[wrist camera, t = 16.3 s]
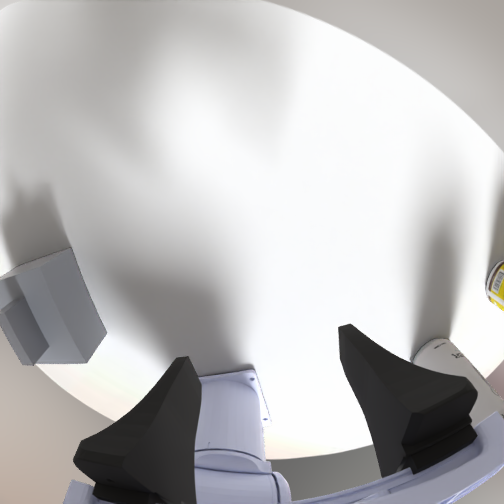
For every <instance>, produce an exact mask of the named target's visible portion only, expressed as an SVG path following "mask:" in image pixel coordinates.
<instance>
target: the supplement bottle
mask: <svg viewBox="0 0 504 504" xmlns="http://www.w3.org/2000/svg"><path fill="white" fill-rule="evenodd" d="M486 294H487V298H488V299H489V301H490V302H492V303H493V304H495V305H496V306H497V307H499V308H500V309H501V310H503V311H504V260H503V261H500V262H499V263H498V264H496V266H495V267H494V268H493V270H492V271H491V273H490V276H489V278H488V281H487V286H486Z"/></svg>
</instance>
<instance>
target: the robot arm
mask: <svg viewBox="0 0 504 504" xmlns="http://www.w3.org/2000/svg"><path fill="white" fill-rule="evenodd" d="M338 332H339V350H340V360H341V363H342V366H343V369H344V372H345V375H346V377H347V379H348V381H349V384H350V386H351V388H352V390H353V392H354V394H355V396H356V398H357V400H358V402H359V404H360V406H361V408H362V411H363V413H364V415H365V418H366V421H367V424H368V427H369V431H370V434H371V437H372V441H373V444H374V447H375V451H376V455H377V459H378V463H379V467H380V471H381V476H382V479H379V480H376V481H373V482H370V483H368V484H364V485H361V486H358V487H355V488H351V489H348V490H344V491H340V492H337V493H333V494H328V495H324V496H320V497H315V498H310V499H305V500H299V501H294V502H291V493H290V489H289V485H288V483H287V481H286V480H285V479H284V478H283V476H282V475H281V474H280V473H278V472H272V470H271V462H267V461H266V457H265V444H264V432H263V427H264V426H269V425H271V419H270V416H269V413H268V409H267V406H266V403H265V400H264V397H263V394H262V391H261V387H260V384H259V381H258V378H257V375H256V372H255V371H254V370H245V371H239V372H233V373H226V374H219V375H212V376H204V377H198V376H197V374H196V372H195V370H194V367H193V365H192V363H191V361H190V359H189V357H188V356H187V357H178V358H176V359H175V361H174V362H173V363H172V364H171V366H170V367H169V368H168V369H167V371H166V372H165V373H164V375H163V376H162V377H161V378H160V380H159V381H158V382H157V383H156V385H155V386H154V387H153V388H152V389H151V390H150V391H149V393H148V394H147V395H146V396H145V397H144V398H143V399H142V400H141V401H140V402H139V403H138V404H137V405H136V406H135V407H134V408H133V409H132V410H131V411H129V412H128V413H127V414H126V415H124V416H123V417H122V418H120V419H119V420H118V421H116V422H115V423H114V424H112V425H110V426H109V427H107V428H106V429H104V430H102V431H100V432H99V433H97V434H95V435H93V436H90V437H88V438H86V439H84V440H82V441H81V442H80V444H79V447H78V449H77V451H76V454H75V456H74V458H73V462H74V464H75V465H76V467H77V468H79V470H81V471H82V472H83V473H84V474H85V475H87V476H88V477H89V478H91V479H92V480H93V481H95V482H96V484H95V487H93V486H91V485H89V484H86V483H82V482H79V481H76V480H71V482H70V485H69V488H68V491H67V493H66V496H65V499H64V502H63V504H452V503H454V502H455V501H457V500H459V499H460V498H462V497H463V496H465V495H466V494H468V493H469V492H471V491H472V490H474V489H475V488H477V487H478V486H480V485H481V484H482V483H484V482H485V481H487V480H488V479H489V478H491V477H492V476H493V475H494V474H496V473H497V472H498V471H499V470H500V469H501V468H502V467H503V466H504V419H503V418H502V417H501V415H500V414H499V413H498V411H495V412H494V413H493V414H491V415H490V416H488V417H487V418H486V419H484V420H483V421H481V422H480V423H478V424H477V425H476V426H475V427H474V428H473V427H472V425H471V423H472V419H471V417H470V416H469V414H470V412H471V410H472V408H473V406H474V404H475V403H476V400H477V397H478V391H477V390H476V388H475V387H474V386H473V384H472V383H471V382H470V381H469V380H468V379H467V377H464V376H457V375H450V374H444V373H440V372H436V371H432V370H429V369H426V368H423V367H420V366H417V365H415V364H412V363H410V362H408V361H406V360H404V359H402V358H399V357H398V356H396V355H394V354H392V353H391V352H389V351H387V350H386V349H384V348H383V347H381V346H380V345H378V344H377V343H375V342H374V341H372V340H371V339H370V338H368V337H367V336H366V335H364V334H363V333H362V332H361V331H359V330H358V329H357V328H356V327H354V326H353V325H352V324H347V325H344V326H340V327H338ZM251 377H253V378H251Z"/></svg>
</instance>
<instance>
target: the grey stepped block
mask: <svg viewBox="0 0 504 504" xmlns="http://www.w3.org/2000/svg"><path fill="white" fill-rule="evenodd" d="M0 326H1V328H2V330H3V332H4V334H5V335H6V337H7V339H8V341H9V343H10V345H11V346H12V348H13V350H14V352H15V353H16V355H17V356H18V358H19V360H20V362H21V363H22V365H32V366H34V364H83V363H87V362H88V361H89V359H90V358H91V356H92V355H93V353H94V352H95V350H96V349H97V347H98V346H99V344H100V343H101V341H102V340H103V339H104V337H105V336H106V334H107V332H106V330H105V328H104V326H103V324H102V322H101V319H100V317H99V315H98V313H97V311H96V309H95V306H94V304H93V302H92V300H91V297H90V295H89V293H88V290H87V288H86V285H85V283H84V280H83V278H82V275H81V273H80V270H79V268H78V265H77V262H76V259H75V257H74V254H73V251H72V248H68V249H65V250H62V251H59V252H56V253H53V254H50V255H48V256H45V257H42V258H39V259H36V260H33V261H31V262H28V263H25V264H22V265H20V266H17V267H16V268H14V269H12V270H11V271H9V272H7V273H6V274H4V275H3V276H1V277H0Z"/></svg>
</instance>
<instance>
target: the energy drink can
mask: <svg viewBox="0 0 504 504" xmlns="http://www.w3.org/2000/svg"><path fill="white" fill-rule="evenodd" d="M413 364H415V365H417V366H420V367H423V368H426V369H429V370H432V371H436V372H440V373H444V374H450V375H457V376H464V377H467V379H468V380H469V381H470V382H471V383H472V384H473V386H474V387H475V388H476V390H477V391H478V397H477V400H476V403H475V404H474V406H473V408H472V410H471V412H470V414H469V416H470V417H471V419H472V423H471V425H472V427H473V428H474V427H475V426H476V425H477V424H478V423H480V422H481V421H483V420H484V419H486V418H487V417H488V416H490V415H491V414H493V413H494V412H495V411H498V413H499V414H500V415H501V417H502V418H503V419H504V400H503V399H502V398H501V397H500V396H499V394H498V393H497V392H496V391H495V390H494V388H493V387H492V386H491V385H490V384H489V383H488V381H487V380H486V379H485V378H484V377H483V376H482V375H481V373H480V372H479V371H478V370H477V369H476V368H475V367H474V366H473V365H472V363H471V362H470V361H469V360H468V359H467V358H466V357H465V356H464V355H463V354H462V353H461V352H460V351H459V350H458V348H457V347H456V346H455V345H454V344H453V343H452V342H451V341H450V340H448V339H440V338H436V339H433V340H431V341H429V342H428V343H426V344H425V345H424V346H423V347H422V348H421V349H420V350H419V351H418V352H417V354H416V356H415V358H414V360H413Z"/></svg>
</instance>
